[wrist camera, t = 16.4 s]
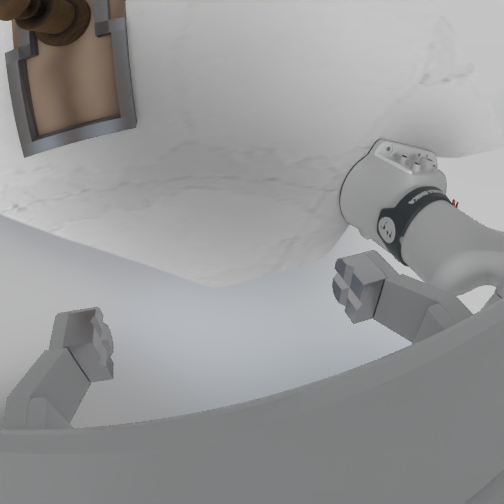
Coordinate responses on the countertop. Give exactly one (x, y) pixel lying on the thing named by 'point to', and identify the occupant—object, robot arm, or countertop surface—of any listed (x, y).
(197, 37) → the countertop surface
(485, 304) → the robot arm
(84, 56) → the tray
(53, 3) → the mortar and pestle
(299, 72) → the countertop surface
